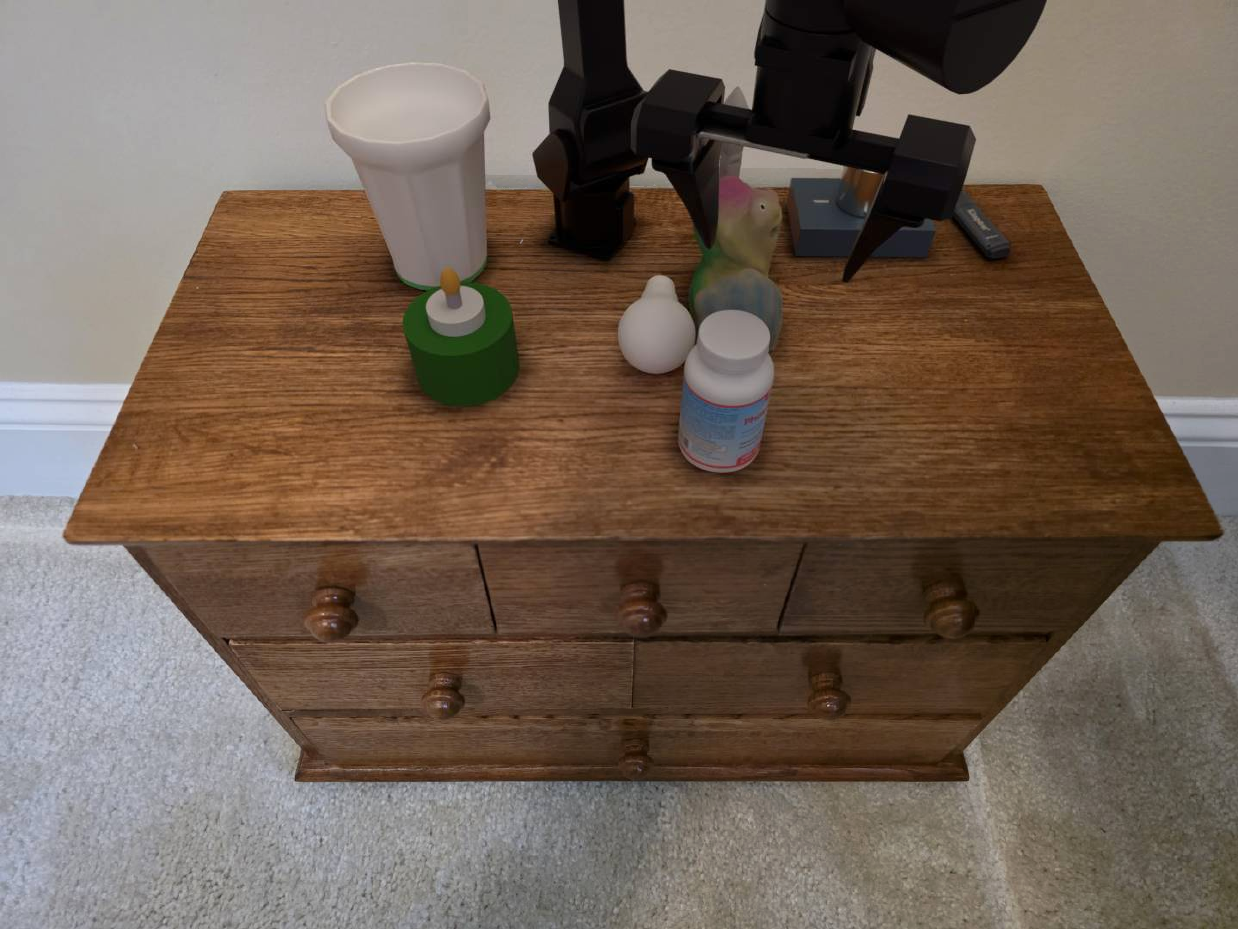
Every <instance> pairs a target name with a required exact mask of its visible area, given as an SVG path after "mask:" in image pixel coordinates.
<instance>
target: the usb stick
mask: <svg viewBox="0 0 1238 929" xmlns="http://www.w3.org/2000/svg"><path fill="white" fill-rule="evenodd" d="M952 218H953V219H954V220H955V221H956V223H957V224H958V225H959V226H960V227H961V228H962V229H963V231H964V232H965V233H966V234H967V236H968V237H969V238H970V239H971V241H973V243H975V245H976V246H977V247H978V248H979V250H980V251H981V252H982V253H983V255H984V256H985V257H986V258H988V259H1000V258H1005V257H1008V256H1009V255H1010V254H1011V252H1012V244H1011V242H1010V241H1009V240H1008V239H1007V238H1006V237H1005V235H1003V233H1002V232H1001V231H1000V229H999V228H998V227H997V226H996V225H995V224H994V223H993V222H992V220H990V218H989V217H988V216H987V215H986V214H985V213H984V211H982V209H981V208H980V207H979V206H978V205H977V203H976V202H974V200H973V199H972V197H970V196H969V193H967V192H966V190H964V189H962V191H961V194H960V196H959V199H958V202H957V205H956V207H955V210H954V213H953V216H952Z"/></svg>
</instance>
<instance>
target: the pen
mask: <svg viewBox="0 0 1238 929" xmlns="http://www.w3.org/2000/svg"><path fill="white" fill-rule="evenodd" d="M724 104H726V105H731V106H736V107H741V108H746V109H750V107H749V105H748V102H747V100H746V97H745V95H744V92H743V91H742V89H741V88H740V86H739V85H736V87H735V88H733V90H732V91H731V92H730V94H729V95H728V96H727V98H726V99H725V100H724ZM744 148H745V146H740V145H735V144H730V143H726V142H723V144H722V149H721V154H720V161H719V179H721V178H722V177H724V176H726V175H730V174H732V175H735V176H737V177H738V178H740V173H741V168H742V161H743V160H742V159H743V151H744Z"/></svg>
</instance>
